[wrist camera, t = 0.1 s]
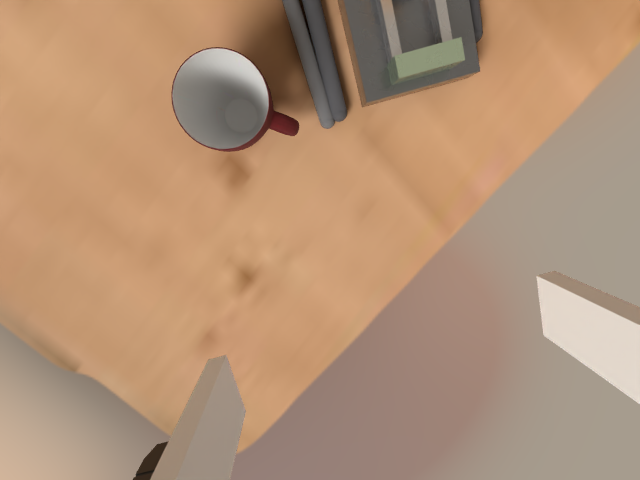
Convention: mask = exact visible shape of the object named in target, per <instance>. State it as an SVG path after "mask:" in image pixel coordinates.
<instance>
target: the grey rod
mask: <svg viewBox="0 0 640 480" xmlns="http://www.w3.org/2000/svg"><path fill="white" fill-rule="evenodd" d="M302 2H303V6H304V10H305V14H306V18H307V22H308V26H309V30H310V34H311V38H312V42H313V46H314V50H315V54H316V58H317V62H318V66H319V70H320V73H321V77H322V80H323V84H324V87H325V91H326V95H327V98H328V102H329V106H330V109H331V113H332V116H333V118H334V120H335V121H337V122H340V121H343V120H344V119H345V118H346V116H347V109H346V105H345V101H344V97H343V93H342V89H341V84H340V80H339V76H338V72H337V68H336V63H335V59H334V55H333V51H332V47H331V43H330V38H329V34H328V30H327V26H326V22H325V17H324V13H323V9H322V5H321V1H320V0H302Z"/></svg>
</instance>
